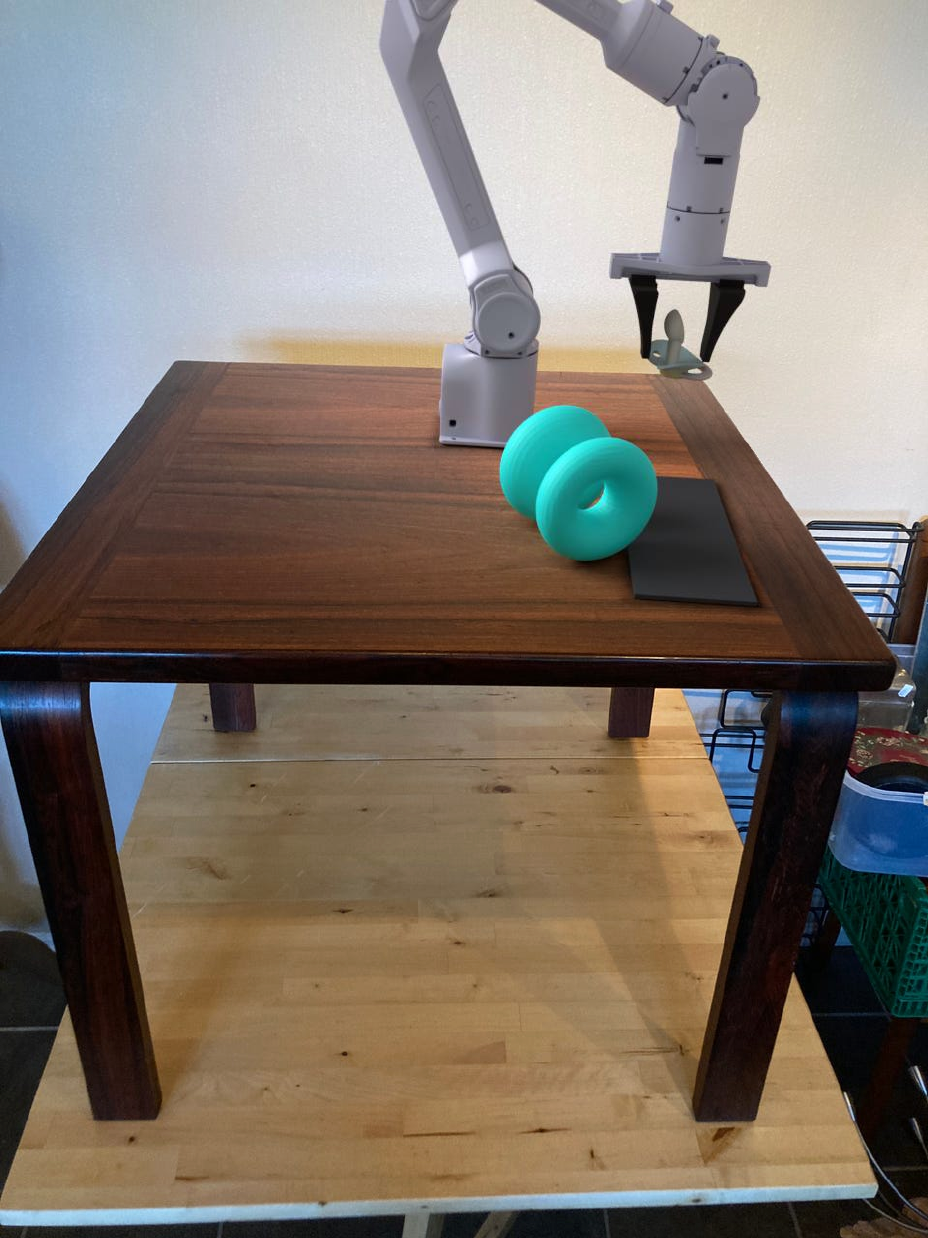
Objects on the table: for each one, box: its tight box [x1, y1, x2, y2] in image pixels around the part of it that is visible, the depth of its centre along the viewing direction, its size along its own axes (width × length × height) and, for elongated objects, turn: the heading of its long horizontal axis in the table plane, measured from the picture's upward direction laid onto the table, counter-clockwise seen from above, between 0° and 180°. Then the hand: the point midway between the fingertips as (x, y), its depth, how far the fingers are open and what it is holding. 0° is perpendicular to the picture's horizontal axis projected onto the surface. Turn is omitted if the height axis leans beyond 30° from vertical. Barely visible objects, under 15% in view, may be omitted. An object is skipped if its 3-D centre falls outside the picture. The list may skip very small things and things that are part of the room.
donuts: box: [499, 404, 657, 562], centre depth 77 cm, size 10×10×10 cm
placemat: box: [625, 475, 758, 607], centre depth 81 cm, size 9×22×1 cm, turn 176°
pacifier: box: [647, 308, 714, 382], centre depth 94 cm, size 7×6×6 cm
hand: (674, 357), depth 95 cm, fingers closed on pacifier, 5 cm apart
